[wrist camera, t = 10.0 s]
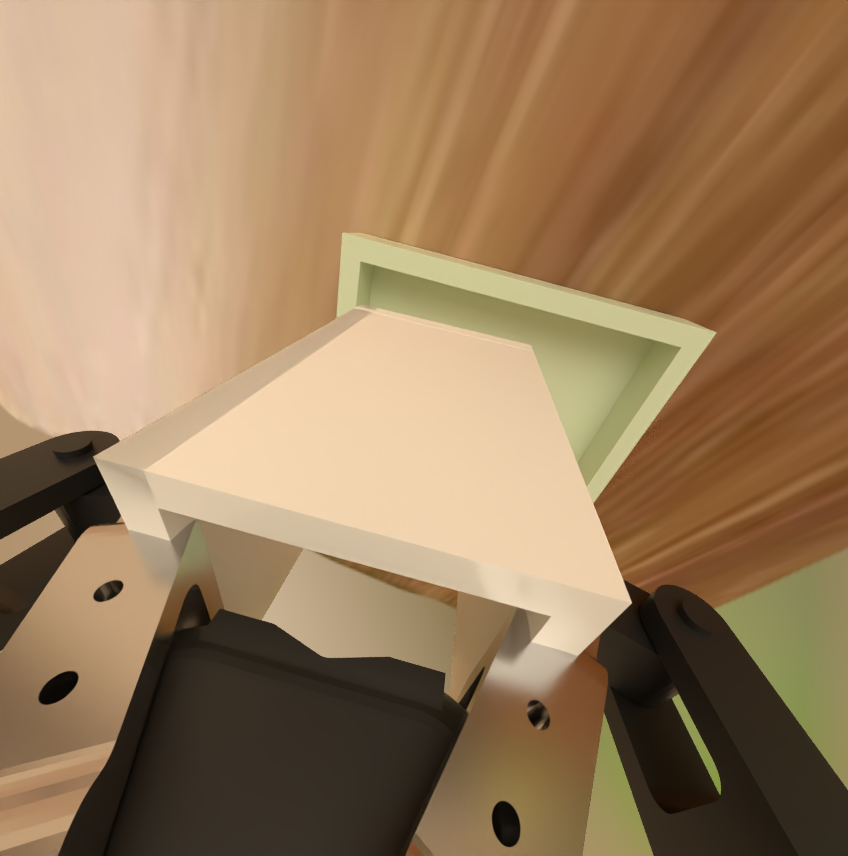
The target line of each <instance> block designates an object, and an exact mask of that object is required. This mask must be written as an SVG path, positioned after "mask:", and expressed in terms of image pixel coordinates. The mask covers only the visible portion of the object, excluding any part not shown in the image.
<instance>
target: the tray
mask: <svg viewBox="0 0 848 856" xmlns="http://www.w3.org/2000/svg"><path fill="white" fill-rule="evenodd" d="M361 304H363V305H367V306H372V307H376V308H380V309H384V310H388V311H392V312H396V313H400V314H405V315H409V316H413V317H417V318H421V319H425V320H429V321H434V322H438V323H442V324H446V325H450V326H454V327H458V328H462V329H467V330H471V331H475V332H479V333H483V334H487V335H491V336H496V337H500V338H504V339H508V340H512V341H516V342H520V343H524V344H529V345H531V346H532V349H533V351H534V354H535V356H536V359H537V362H538V364H539V367H540V369H541V372H542V374H543V377H544V379H545V382H546V385H547V387H548V390H549V392H550V395H551V397H552V400H553V402H554V405H555V408H556V410H557V413H558V415H559V418H560V420H561V423H562V425H563V428H564V430H565V433H566V436H567V438H568V441H569V443H570V446H571V448H572V451H573V453H574V456H575V459H576V461H577V464H578V466H579V469H580V471H581V474H582V476H583V479H584V482H585V484H586V487H587V489H588V492H589V494H590V497H591V499H592V502H593V503H594V502H595V500H596V499H597V497H598V496H599V495H600V493H601V492H602V491H603V489H604V488H605V486H606V485H607V484H608V482H609V481H610V480H611V478H612V477H613V475H614V474H615V473H616V471H617V470H618V468H619V467H620V466H621V464H622V463H623V462H624V460H625V459H626V457H627V456H628V455H629V453H630V452H631V450H632V449H633V448H634V446H635V445H636V444H637V442H638V441H639V439H640V438H641V437H642V435H643V434H644V432H645V431H646V430H647V428H648V427H649V426H650V424H651V423H652V421H653V420H654V419H655V417H656V416H657V415H658V413H659V412H660V410H661V409H662V408H663V406H664V405H665V403H666V402H667V401H668V399H669V398H670V397H671V395H672V394H673V392H674V391H675V390H676V388H677V387H678V385H679V384H680V383H681V381H682V380H683V379H684V377H685V376H686V374H687V373H688V372H689V370H690V369H691V367H692V366H693V365H694V363H695V362H696V361H697V359H698V358H699V356H700V355H701V354H702V352H703V351H704V350H705V348H706V347H707V345H708V344H709V343H710V341H711V340H712V338H713V337H714V336H715V334H716V333H717V332H714V331H712V330H709V329H707V328H705V327H702V326H700V325H698V324H695V323H693V322H690V321H688V320H686V319H683V318H680V317H676V316H672V315H669V314H665V313H661V312H657V311H654V310H650V309H646V308H642V307H639V306H635V305H631V304H627V303H624V302H620V301H616V300H612V299H609V298H605V297H601V296H597V295H594V294H590V293H586V292H582V291H579V290H575V289H571V288H567V287H564V286H560V285H556V284H552V283H549V282H545V281H541V280H537V279H533V278H530V277H526V276H522V275H518V274H515V273H511V272H507V271H503V270H500V269H496V268H492V267H488V266H485V265H481V264H477V263H473V262H470V261H466V260H462V259H458V258H455V257H451V256H447V255H443V254H440V253H436V252H432V251H428V250H425V249H421V248H417V247H413V246H410V245H406V244H402V243H398V242H395V241H391V240H387V239H383V238H380V237H376V236H372V235H368V234H365V233H342V246H341V260H340V274H339V289H338V303H337V317H336V319H337V318H338V317H340V316H342V315H344V314H345V313H347V312H349V311H351V310H352V309H354V308H356V307H358V306H359V305H361Z"/></svg>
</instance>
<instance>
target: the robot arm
mask: <svg viewBox="0 0 848 856" xmlns="http://www.w3.org/2000/svg"><path fill="white" fill-rule="evenodd" d="M118 442H120V441H119V439H118V438H117V437H116V436H115V435H113V434H111V433H108V432H103V431H82V432H75V433H69V434H65V435H61V436H58V437H55V438H52V439H49V440H47V441H44V442H42V443H39V444H37V445H34V446H31V447H29V448H26V449H24V450H21V451H19V452H16V453H14V454H11V455H9V456H7V457H4V458H1V459H0V539H2V538H4V537H5V536H8V535H9V534H11V533H13V532H15V531H17V530H19V529H20V528H22V527H24V526H26V525H27V524H30V523H31V522H33V521H35V520H37V519H39V518H41V517H43V516H44V515H46V514H48V513H50V512H52V511H53V510H55V511H56V513H57V514H58V516H59V517H60V519H61V521H62V522H63V524H64V525H65V527H64V528H62V529H61V530H59V531H57V532H55V533H54V534H52V535H50V536H49V537H47V538H45V539H44V540H42V541H40V542H39V543H37V544H35V545H33V546H32V547H30V548H28V549H27V550H25V551H23V552H22V553H20V554H18V555H17V556H15V557H13V558H12V559H10V560H8V561H6V562H5V563H3V564H1V565H0V651H1V650H2V652H1V653H0V856H582V854H583V847H584V841H585V834H586V828H587V821H588V814H589V807H590V801H591V794H592V788H593V780H594V773H595V766H596V761H597V754H598V747H599V740H600V734H601V727H602V721H603V714H604V713H605V716H606V719H607V722H608V724H609V727H610V730H611V733H612V736H613V739H614V742H615V745H616V747H617V750H618V753H619V756H620V759H621V762H622V765H623V768H624V771H625V773H626V776H627V779H628V782H629V785H630V788H631V791H632V794H633V797H634V800H635V803H636V806H637V808H638V811H639V814H640V817H641V820H642V823H643V826H644V829H645V832H646V834H647V837H648V840H649V843H650V846H651V849H652V852H653V855H654V856H848V790H847V788H846V787H845V786H844V784H843V783H842V782H841V780H840V779H839V777H838V776H837V775H836V773H835V772H834V770H833V769H832V768H831V766H830V765H829V764H828V762H827V761H826V759H825V758H824V757H823V755H822V754H821V753H820V751H819V750H818V748H817V747H816V746H815V744H814V743H813V742H812V740H811V739H810V738H809V736H808V735H807V733H806V732H805V731H804V729H803V728H802V726H801V725H800V724H799V722H798V721H797V720H796V718H795V717H794V715H793V714H792V713H791V711H790V710H789V708H788V707H787V706H786V705H785V703H784V702H783V700H782V699H781V697H780V696H779V695H778V693H777V692H776V691H775V689H774V688H773V686H772V685H771V684H770V682H769V681H768V680H767V678H766V677H765V676H764V674H763V673H762V672H761V670H760V669H759V667H758V666H757V664H756V663H755V662H754V660H753V659H752V658H751V656H750V655H749V654H748V652H747V651H746V649H745V648H744V647H743V645H742V644H741V643H740V641H739V640H738V638H737V637H736V636H735V634H734V633H733V631H732V630H731V629H730V627H729V626H728V625H727V623H726V622H725V621H724V619H723V618H722V617H721V616H720V615H719V614H718V613H717V612H716V611H715V610H714V609H713V608H712V607H711V606H710V605H709V604H707V603H706V602H705V601H704V600H702V599H701V598H699V597H698V596H697V595H695V594H693V593H692V592H690V591H688V590H686V589H684V588H681V587H678V586H674V585H662V586H660V587H658V588H657V589H656V590H655V591H654V592H653V593H652V594H649V593H647V592H645V591H644V590H642V589H640V588H638V587H636V586H634V585H632V584H630V583H629V582H627V581H625V580H623V581H624V584H625V586H626V589H627V591H628V594H629V597H630V599H631V602H632V604H631V605H630V606H628V607H627V608H626V609H625V610H624V611H623V612H622V613H621V614H620V615H619V616H618V617H617V618H616V619H615V620H614V621H613V622H612V623H611V624H610V625H609V626H608V627H607V628H606V629H605V630H604V631H603V632H602V633H601V634H600V635H599V636H598V637H597V638H596V639H595V640H594V641H593V642H592V643H591V644H590V645H589V646H587V647H586V648H585V649H584V650H583V651H582V652H581V653H580V654H579V655H578V656H576V655H573V654H570V653H568V652H564V651H561V650H558V649H554V648H551V647H547V646H544V645H540V644H537V643H533V642H531V637H530V629H529V622H528V618H527V614H526V612H525V609H522V608H519V607H514V609H513V610H512V612H511V613H510V615H509V616H508V618H507V619H506V621H505V622H504V624H503V626H502V627H501V629H500V631H499V632H498V634H497V636H496V637H495V639H494V640H493V642H492V643H491V645H490V646H489V648H488V649H487V651H486V652H485V654H484V655H483V657H482V658H481V660H480V661H479V662H478V664H477V665H476V667H475V668H474V670H473V671H472V673H471V674H470V676H469V678H468V679H467V681H466V683H465V685H464V687H463V688H462V690H461V692H460V694H459V696H458V698H457V700H456V701H455V700H454V699H453V698H452V697H450V696H449V695H447V694H445V693H444V683H445V673H443V672H440V671H436V670H432V669H429V668H426V667H422V666H419V665H415V664H412V663H408V662H405V661H401V660H398V659H394V658H391V657H362V658H325V657H322V656H320V655H318V654H317V653H316V652H314V651H313V650H311V649H310V648H308V647H307V646H305V645H304V644H302V643H301V642H300V641H298V640H297V639H295V638H294V637H292V636H291V635H289V634H288V633H286V632H285V631H284V630H282V629H281V628H279V627H277V626H276V625H274V624H272V623H269V622H265V621H262V620H258V619H255V618H251V617H248V616H244V615H241V614H237V613H234V612H231V611H227V610H225V609H224V605H223V602H222V598H221V595H220V591H219V588H218V584H217V581H216V577H215V574H214V570H213V567H212V563H211V560H210V557H209V553H208V550H207V546H206V543H205V539H204V536H203V532H202V529H201V525H200V522H199V519H196V520H194V521H192V522H191V523H190V524H188V525H187V526H186V527H185V528H183V529H182V530H181V531H180V532H179V533H178V534H177V535H176V536H175V537H174V538H173V539H172V540H171V541H169V540H165V539H162V538H158V537H154V536H151V535H147V534H144V533H140V532H136V531H132V530H128V529H127V527H126V524H125V522H124V520H123V518H122V516H121V514H120V512H119V510H118V508H117V506H116V504H115V502H114V499H113V497H112V495H111V493H110V491H109V489H108V487H107V485H106V483H105V481H104V479H103V476H102V474H101V472H100V470H99V468H98V466H97V464H96V462H95V460H94V458H93V456H95V455H97V454H99V453H100V452H102V451H104V450H106V449H108V448H109V447H111V446H113V445H115V444H116V443H118ZM677 694H679V695H680V697H681V699H682V701H683V703H684V705H685V707H686V708H687V710H688V712H689V714H690V716H691V718H692V720H693V722H694V724H695V726H696V728H697V730H698V732H699V734H700V736H701V738H702V740H703V741H704V743H705V745H706V747H707V749H708V751H709V753H710V755H711V757H712V759H713V761H714V763H715V765H716V767H717V770H718V773H719V777H720V782H721V795H720V794H719V793H718V791H717V789H716V787H715V785H714V783H713V781H712V779H711V777H710V775H709V773H708V771H707V769H706V767H705V765H704V763H703V760H702V759H701V757H700V754H699V752H698V750H697V749H696V746H695V745H694V743H693V740H692V738H691V736H690V734H689V732H688V731H687V729H686V726H685V724H684V722H683V720H682V718H681V716H680V714H679V712H678V710H677V708H676V706H675V704H674V702H673V700H672V698H673V697H674V696H676V695H677Z"/></svg>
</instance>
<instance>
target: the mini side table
mask: <svg viewBox="0 0 848 856" xmlns="http://www.w3.org/2000/svg"><path fill="white" fill-rule="evenodd" d="M93 458H94V460H95V462H96V464H97V466H98V468H99V470H100V472H101V474H102V476H103V479H104V481H105V483H106V485H107V487H108V489H109V491H110V493H111V495H112V497H113V499H114V502H115V504H116V506H117V508H118V510H119V512H120V514H121V516H122V518H123V520H124V522H125V524H126V527H127V529H128V530H132V531H136V532H140V533H144V534H147V535H151V536H154V537H158V538H162V539H165V540H169V541H171V540H172V539H173V538H174V537H175V536H176V535H177V534H178V533H179V532H180V531H181V530H182V529H183V528H185V527H186V526H187V525H188V524H190V523H191V522H192V521H194V520H196V519H199V522H200V525H201V529H202V532H203V536H204V539H205V543H206V546H207V550H208V553H209V557H210V560H211V563H212V567H213V570H214V574H215V577H216V581H217V584H218V588H219V591H220V595H221V598H222V602H223V605H224V609H225V610H227V611H231V612H234V613H237V614H241V615H244V616H248V617H251V618H255V619H258V620H262V618H263V617H264V615H265V613H266V611H267V610H268V608H269V607H270V605H271V603H272V601H273V600H274V598H275V596H276V594H277V593H278V591H279V589H280V588H281V586H282V584H283V582H284V581H285V579H286V577H287V576H288V574H289V572H290V570H291V569H292V567H293V565H294V564H295V562H296V560H297V558H298V557H299V555H300V553H301V552H302V550H303V548H305V549H309V550H312V551H316V552H319V553H323V554H327V555H330V556H334V557H337V558H341V559H345V560H348V561H352V562H356V563H359V564H363V565H366V566H370V567H374V568H377V569H381V570H385V571H388V572H392V573H395V574H399V575H403V576H406V577H410V578H414V579H417V580H421V581H424V582H428V583H432V584H435V585H439V586H443V587H446V588H450V589H453V590H457V591H458V599H457V611H456V624H455V636H454V648H453V660H452V673H451V686H450V697H452V698H453V699H454V700H455V701H456V700H457V698H458V696H459V694H460V692H461V690H462V688H463V687H464V685H465V683H466V681H467V679H468V678H469V676H470V674H471V673H472V671H473V670H474V668H475V667H476V665H477V664H478V662H479V661H480V660H481V658H482V657H483V655H484V654H485V652H486V651H487V649H488V648H489V646H490V645H491V643H492V642H493V640H494V639H495V637H496V636H497V634H498V632H499V631H500V629H501V627H502V626H503V624H504V622H505V621H506V619H507V618H508V616H509V615H510V613H511V612H512V610H513V609H514V607H519V608H522V609H525V612H526V614H527V618H528V622H529V629H530V637H531V642H533V643H537V644H540V645H544V646H547V647H551V648H554V649H558V650H561V651H564V652H568V653H570V654H573V655H576V656H578V655H579V654H580V653H581V652H582V651H583V650H584V649H585V648H586V647H587V646H589V645H590V644H591V643H592V642H593V641H594V640H595V639H596V638H597V637H598V636H599V635H600V634H601V633H602V632H603V631H604V630H605V629H606V628H607V627H608V626H609V625H610V624H611V623H612V622H613V621H614V620H615V619H616V618H617V617H618V616H619V615H620V614H621V613H622V612H623V611H624V610H625V609H626V608H627V607H628V606H630V605H631V604H632V602H631V599H630V597H629V594H628V591H627V589H626V586H625V584H624V581H623V579H622V576H621V574H620V571H619V568H618V566H617V563H616V561H615V558H614V556H613V553H612V551H611V548H610V545H609V543H608V540H607V538H606V535H605V533H604V530H603V528H602V525H601V522H600V520H599V517H598V515H597V512H596V510H595V507H594V505H593V502H592V499H591V497H590V494H589V492H588V489H587V487H586V484H585V482H584V479H583V476H582V474H581V471H580V469H579V466H578V464H577V461H576V459H575V456H574V453H573V451H572V448H571V446H570V443H569V441H568V438H567V436H566V433H565V430H564V428H563V425H562V423H561V420H560V418H559V415H558V413H557V410H556V408H555V405H554V402H553V400H552V397H551V395H550V392H549V390H548V387H547V385H546V382H545V379H544V377H543V374H542V372H541V369H540V367H539V364H538V362H537V359H536V356H535V354H534V351H533V349H532V346H531V345H529V344H524V343H520V342H516V341H512V340H508V339H504V338H500V337H496V336H491V335H487V334H483V333H479V332H475V331H471V330H467V329H462V328H458V327H454V326H450V325H446V324H442V323H438V322H434V321H429V320H425V319H421V318H417V317H413V316H409V315H405V314H400V313H396V312H392V311H388V310H384V309H380V308H376V307H372V306H367V305H363V304H361V305H359V306H358V307H356V308H354V309H352V310H351V311H349V312H347V313H345V314H344V315H342V316H340V317H338V318H337V319H335V320H333V321H331V322H329V323H328V324H326V325H324V326H322V327H321V328H319V329H317V330H315V331H314V332H312V333H310V334H308V335H307V336H305V337H303V338H301V339H300V340H298V341H296V342H294V343H292V344H291V345H289V346H287V347H285V348H284V349H282V350H280V351H278V352H277V353H275V354H273V355H271V356H270V357H268V358H266V359H264V360H263V361H261V362H259V363H257V364H255V365H254V366H252V367H250V368H248V369H247V370H245V371H243V372H241V373H240V374H238V375H236V376H234V377H233V378H231V379H229V380H227V381H226V382H224V383H222V384H220V385H219V386H217V387H215V388H213V389H211V390H210V391H208V392H206V393H204V394H203V395H201V396H199V397H197V398H196V399H194V400H192V401H190V402H189V403H187V404H185V405H183V406H182V407H180V408H178V409H176V410H174V411H173V412H171V413H169V414H167V415H166V416H164V417H162V418H160V419H159V420H157V421H155V422H153V423H152V424H150V425H148V426H146V427H145V428H143V429H141V430H139V431H137V432H136V433H134V434H132V435H130V436H129V437H127V438H125V439H123V440H122V441H120V442H118V443H116V444H115V445H113V446H111V447H109V448H108V449H106V450H104V451H102V452H100V453H99V454H97V455H95V456H93Z"/></svg>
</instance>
